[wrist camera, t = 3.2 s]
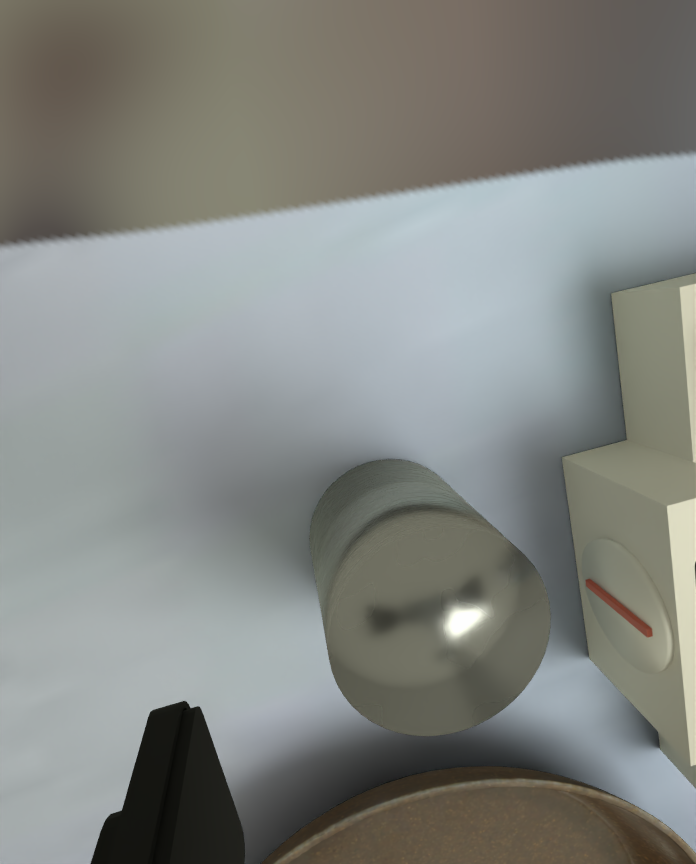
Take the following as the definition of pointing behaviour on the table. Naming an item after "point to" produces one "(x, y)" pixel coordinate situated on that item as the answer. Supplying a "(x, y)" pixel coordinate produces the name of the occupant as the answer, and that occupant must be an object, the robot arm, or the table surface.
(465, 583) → the cylinder
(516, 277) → the table surface
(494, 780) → the plant saucer
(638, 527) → the scale
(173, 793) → the robot arm
